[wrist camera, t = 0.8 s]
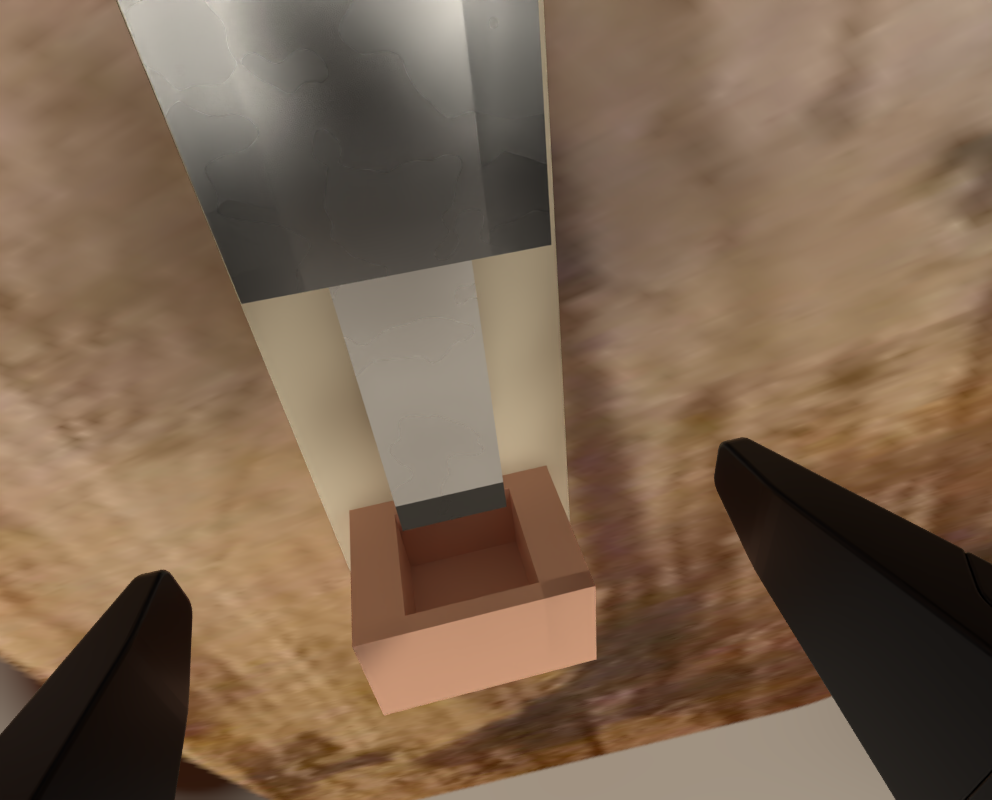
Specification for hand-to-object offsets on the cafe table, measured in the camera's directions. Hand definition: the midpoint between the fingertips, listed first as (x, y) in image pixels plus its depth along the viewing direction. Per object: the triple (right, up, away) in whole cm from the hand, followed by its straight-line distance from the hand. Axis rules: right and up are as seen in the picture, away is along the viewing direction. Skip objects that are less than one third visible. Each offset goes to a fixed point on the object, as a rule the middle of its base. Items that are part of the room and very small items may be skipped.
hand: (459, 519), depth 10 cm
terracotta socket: (-1, -3, +14) cm, 14 cm away
